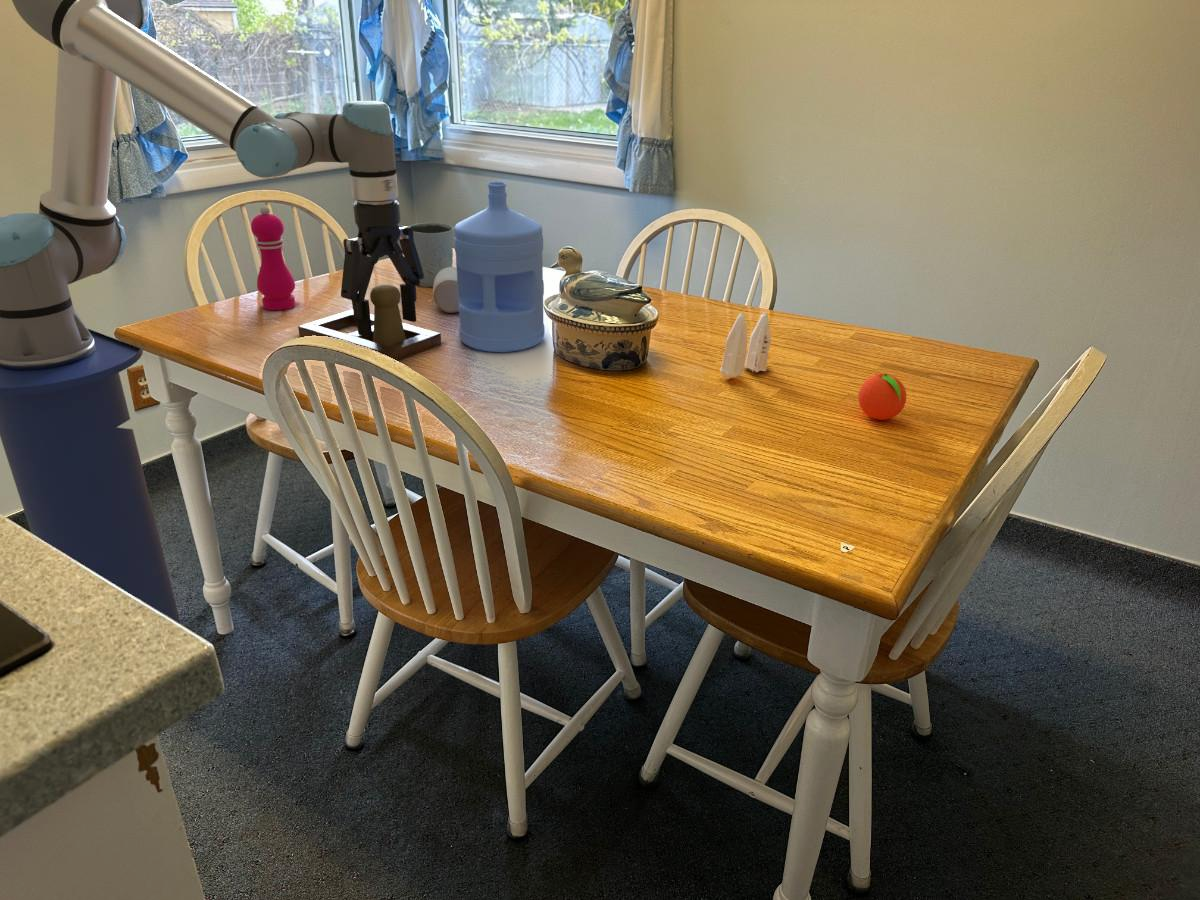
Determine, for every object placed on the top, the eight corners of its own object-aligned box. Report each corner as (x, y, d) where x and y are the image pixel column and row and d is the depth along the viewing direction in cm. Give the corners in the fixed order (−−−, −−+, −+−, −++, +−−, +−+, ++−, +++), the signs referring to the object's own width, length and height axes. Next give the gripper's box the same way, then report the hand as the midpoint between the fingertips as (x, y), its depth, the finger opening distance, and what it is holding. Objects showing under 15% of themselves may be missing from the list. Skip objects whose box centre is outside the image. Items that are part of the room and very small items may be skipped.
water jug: (475, 322, 171) (468, 173, 158) (553, 329, 168) (552, 178, 156) (447, 349, 157) (436, 189, 145) (531, 357, 155) (528, 194, 142)
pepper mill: (302, 307, 178) (288, 207, 169) (266, 313, 174) (250, 211, 165) (291, 298, 183) (277, 200, 174) (256, 304, 179) (240, 204, 170)
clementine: (915, 427, 131) (924, 383, 127) (874, 432, 129) (882, 388, 126) (885, 406, 138) (893, 364, 134) (846, 411, 136) (853, 368, 133)
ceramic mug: (433, 315, 174) (431, 277, 171) (435, 303, 182) (433, 266, 178) (486, 315, 176) (485, 277, 172) (486, 302, 183) (485, 266, 180)
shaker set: (731, 387, 144) (737, 322, 139) (711, 380, 146) (716, 316, 141) (774, 369, 151) (781, 307, 146) (754, 362, 154) (760, 301, 149)
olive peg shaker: (377, 339, 161) (371, 281, 156) (410, 340, 161) (405, 282, 156) (369, 351, 156) (362, 290, 151) (402, 352, 156) (397, 291, 151)
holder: (388, 364, 151) (387, 353, 150) (299, 336, 162) (297, 326, 161) (441, 343, 160) (440, 333, 159) (353, 318, 172) (352, 309, 171)
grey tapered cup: (412, 275, 200) (408, 222, 195) (457, 275, 201) (454, 222, 196) (408, 288, 191) (404, 233, 186) (455, 287, 192) (452, 232, 187)
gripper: (337, 214, 137) (353, 349, 147) (439, 193, 153) (447, 316, 163) (306, 208, 141) (323, 340, 151) (408, 188, 157) (418, 308, 167)
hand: (388, 327), depth 157 cm, fingers open, 10 cm apart
